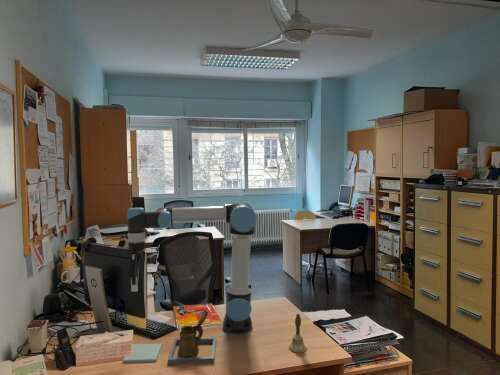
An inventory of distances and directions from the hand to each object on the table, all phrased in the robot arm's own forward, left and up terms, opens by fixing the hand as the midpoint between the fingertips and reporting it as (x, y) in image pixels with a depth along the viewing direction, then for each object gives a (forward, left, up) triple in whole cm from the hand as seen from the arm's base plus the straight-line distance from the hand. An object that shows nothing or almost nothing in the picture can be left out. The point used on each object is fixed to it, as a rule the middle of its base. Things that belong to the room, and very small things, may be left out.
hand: (138, 286), depth 181 cm
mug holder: (-26, +11, -27) cm, 39 cm away
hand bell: (-73, +10, -27) cm, 78 cm away
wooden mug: (-26, +11, -27) cm, 39 cm away
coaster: (-4, +11, -27) cm, 29 cm away
